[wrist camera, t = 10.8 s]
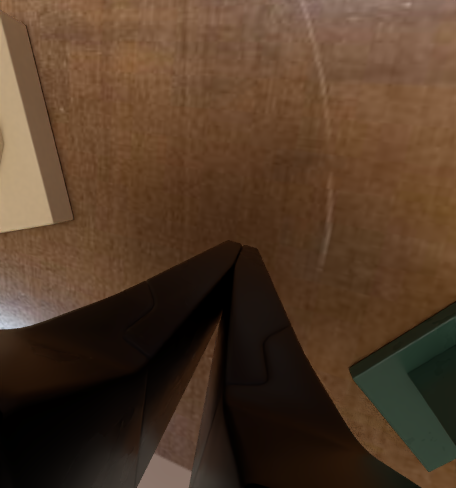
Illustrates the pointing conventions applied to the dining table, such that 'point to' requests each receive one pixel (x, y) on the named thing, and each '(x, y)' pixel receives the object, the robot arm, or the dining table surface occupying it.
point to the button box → (26, 140)
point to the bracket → (417, 387)
